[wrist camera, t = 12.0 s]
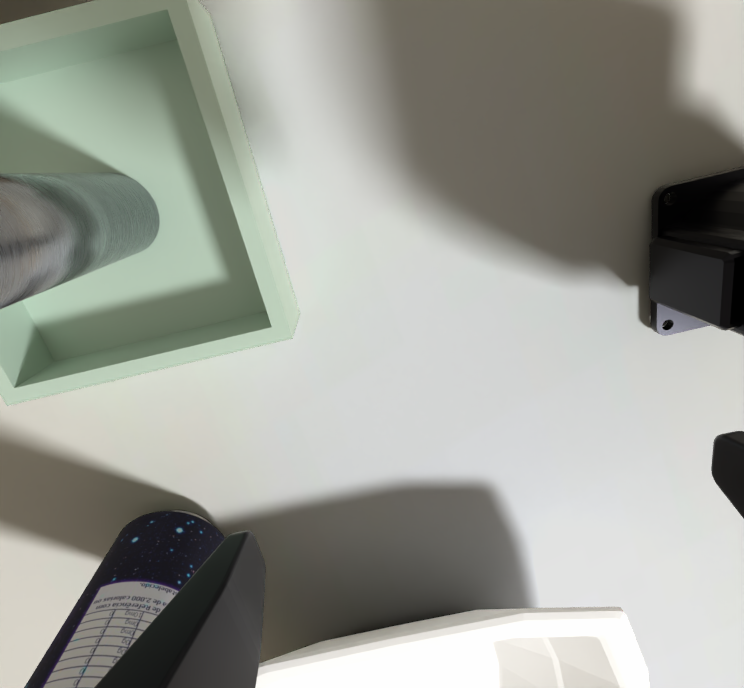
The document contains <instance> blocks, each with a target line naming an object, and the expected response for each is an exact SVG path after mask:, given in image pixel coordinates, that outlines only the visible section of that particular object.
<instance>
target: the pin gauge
mask: <svg viewBox="0 0 744 688" xmlns="http://www.w3.org/2000/svg"><path fill="white" fill-rule="evenodd" d="M159 224H160V219H159V212H158V209H157V205H156V203H155V201H154V199H153V198H152V196H151V195H150V193H149V192H148V191H147V190H146V189H145V188H144V187H143V186H142V185H141V184H140V183H139V182H137V181H136V180H134V179H132V178H130V177H128V176H126V175H123V174H119V173H112V172H105V173H0V309H2V308H5V307H7V306H10V305H12V304H15V303H17V302H19V301H22V300H24V299H27V298H29V297H32V296H34V295H37V294H39V293H41V292H44V291H46V290H49V289H51V288H54V287H56V286H59V285H61V284H63V283H66V282H68V281H71V280H73V279H76V278H78V277H81V276H83V275H85V274H88V273H90V272H93V271H95V270H98V269H100V268H103V267H105V266H107V265H110V264H112V263H115V262H117V261H120V260H122V259H125V258H127V257H129V256H132V255H134V254H137V253H139V252H141V251H143V250H145V249H146V248H148V247H149V246H150V245H151V244H152V243H153V241H154V240H155V238H156V236H157V234H158V231H159Z"/></svg>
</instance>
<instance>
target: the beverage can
mask: <svg viewBox="0 0 744 688" xmlns="http://www.w3.org/2000/svg"><path fill="white" fill-rule="evenodd" d="M224 540H225V538H224V536H223V535H222V534H221V533H220V531H219V530H218V529H216V528H215V527H214V526H213V525H212V524H211V523H210V522H209V521H208V520H206V519H205V518H203V517H201V516H199V515H197V514H194V513H191V512H187V511H180V510H173V511H163V512H155V513H150V514H146V515H143V516H141V517H139V518H137V519H135V520H133V521H132V522H130V523H129V524H128V525H126V526H125V527H124V528H123V530H122V531H121V532H120V534H119V535H118V537H117V539H116V540H115V542H114V543H113V545H112V547H111V548H110V550H109V552H108V553H107V555H106V556H105V558H104V560H103V561H102V563H101V564H100V566H99V568H98V569H97V571H96V573H95V574H94V576H93V577H92V579H91V581H90V582H89V584H88V586H87V587H86V589H85V590H84V592H83V594H82V595H81V597H80V598H79V600H78V602H77V603H76V605H75V607H74V608H73V610H72V611H71V613H70V615H69V616H68V618H67V619H66V621H65V623H64V624H63V626H62V628H61V629H60V631H59V632H58V634H57V636H56V637H55V639H54V641H53V642H52V644H51V645H50V647H49V649H48V650H47V652H46V653H45V655H44V657H43V658H42V660H41V662H40V663H39V665H38V666H37V668H36V670H35V671H34V673H33V674H32V676H31V678H30V679H29V681H28V683H27V684H26V686H25V687H24V688H94V687H95V686H96V685H97V684H98V682H99V681H100V680H101V679H102V678H103V677H104V676H105V675H106V673H107V672H108V671H109V670H110V669H111V668H112V667H113V665H114V664H115V663H116V662H117V661H118V660H119V659H120V658H121V656H122V655H123V654H124V653H125V652H126V651H127V650H128V648H129V647H130V646H131V645H132V644H133V643H134V642H135V641H136V639H137V638H138V637H139V636H140V635H141V634H142V633H143V631H144V630H145V629H146V628H147V627H148V626H149V625H150V624H151V622H152V621H153V620H154V619H155V618H156V617H157V616H158V614H159V613H160V612H161V611H162V610H163V609H164V608H165V607H166V605H167V604H168V603H169V602H170V601H171V600H172V599H173V597H174V596H175V595H176V594H177V593H178V592H179V591H180V590H181V588H182V587H183V586H184V585H185V584H186V583H187V582H188V580H189V579H190V578H191V577H192V576H193V575H194V574H195V573H196V571H197V570H198V569H199V568H200V567H201V566H202V565H203V563H204V562H205V561H206V560H207V559H208V558H209V557H210V556H211V554H212V553H213V552H214V551H215V550H216V549H217V548H218V546H219V545H220V544H221V543H222V542H223V541H224Z"/></svg>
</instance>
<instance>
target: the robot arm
mask: <svg viewBox="0 0 744 688" xmlns="http://www.w3.org/2000/svg"><path fill="white" fill-rule="evenodd" d="M668 193H669V194H670V199H669V201H668V202H667V203H666V204H665V202H664V199H665V196H666V195H667V194H668ZM649 297H650V299H651V327H652V329H653V330H654V331H655V332H657V333H659V334H661V335H671V334H675V333H679V332H684V331H688V330H692V329H697V328H701V327H705V326H710V325H711V326H714V327H716V328H719V329H721V330H731V331H733V332H736V333H738V334H741V335H743V336H744V167H740V168H736V169H731V170H727V171H723V172H719V173H715V174H711V175H706V176H702V177H698V178H694V179H690V180H686V181H681V182H677V183H673V184H669V185H665V186H662V187H660V188H659V189H657V190H656V191H655V193H654V195H653V198H652V241H651V243H650V286H649ZM666 320H667V324H666V325H665V326H664V327H662V325H663V323H664V322H665V321H666ZM711 471H712V476H713V478H714V480H715V482H716V484H717V485H718V486H719V488H720V489H721V490H722V491H723V493H724V494H725V495H726V497H727V498H728V499H729V500H730V502H731V503H732V504H733V505H734V507H735V508H736V509H737V511H738V512H739V513H740V514H741V516H742V517H743V518H744V432H743V431H735V432H730V433H725V434H720V435H718V436H717V437H716V438H715V440H714V445H713V456H712V468H711ZM265 576H266V568H265V562H264V559H263V556H262V554H261V551H260V549H259V546H258V544H257V541H256V539H255V536H254V534H253V533H252V532H251V531H248V530H246V531H241V532H236V533H232V534H230V535H229V536H227V537H226V539H225V540H224V541H223V542H222V543H221V544H220V545H219V546H218V548H217V549H216V550H215V551H214V552H213V553H212V554H211V556H210V557H209V558H208V559H207V560H206V561H205V562H204V563H203V565H202V566H201V567H200V568H199V569H198V570H197V571H196V573H195V574H194V575H193V576H192V577H191V578H190V579H189V580H188V582H187V583H186V584H185V585H184V586H183V587H182V588H181V590H180V591H179V592H178V593H177V594H176V595H175V596H174V597H173V599H172V600H171V601H170V602H169V603H168V604H167V605H166V607H165V608H164V609H163V610H162V611H161V612H160V613H159V614H158V616H157V617H156V618H155V619H154V620H153V621H152V622H151V624H150V625H149V626H148V627H147V628H146V629H145V630H144V631H143V633H142V634H141V635H140V636H139V637H138V638H137V639H136V641H135V642H134V643H133V644H132V645H131V646H130V647H129V648H128V650H127V651H126V652H125V653H124V654H123V655H122V656H121V658H120V659H119V660H118V661H117V662H116V663H115V664H114V665H113V667H112V668H111V669H110V670H109V671H108V672H107V673H106V675H105V676H104V677H103V678H102V679H101V680H100V681H99V682H98V684H97V685H96V686H95V687H94V688H255V687H256V681H257V675H258V668H259V661H260V652H261V640H262V624H263V608H264V592H265Z"/></svg>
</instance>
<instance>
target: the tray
mask: <svg viewBox="0 0 744 688" xmlns="http://www.w3.org/2000/svg"><path fill="white" fill-rule="evenodd" d="M105 172H112V173H119V174H123V175H126V176H128V177H130V178H132V179H134V180H136V181H137V182H139V183H140V184H141V185H142V186H143V187H144V188H145V189H146V190H147V191H148V192H149V193H150V195H151V196H152V198H153V199H154V201H155V203H156V205H157V209H158V212H159V219H160V224H159V231H158V234H157V236H156V238H155V240H154V241H153V243H152V244H151V245H150V246H149V247H148V248H146V249H145V250H143V251H141V252H139V253H137V254H134V255H132V256H129V257H127V258H125V259H122V260H120V261H117V262H115V263H112V264H110V265H107V266H105V267H103V268H100V269H98V270H95V271H93V272H90V273H88V274H85V275H83V276H81V277H78V278H76V279H73V280H71V281H68V282H66V283H63V284H61V285H59V286H56V287H54V288H51V289H49V290H46V291H44V292H41V293H39V294H37V295H34V296H32V297H29V298H27V299H24V300H22V301H19V302H17V303H15V304H12V305H10V306H7V307H5V308H2V309H0V395H1V397H2V399H3V400H4V402H5V403H6V405H7V406H9V405H13V404H17V403H21V402H26V401H30V400H34V399H38V398H43V397H47V396H51V395H55V394H60V393H64V392H68V391H72V390H77V389H81V388H85V387H89V386H93V385H98V384H102V383H106V382H110V381H115V380H119V379H123V378H127V377H132V376H136V375H140V374H144V373H149V372H153V371H157V370H161V369H165V368H170V367H174V366H178V365H182V364H187V363H191V362H195V361H199V360H204V359H208V358H212V357H216V356H221V355H225V354H229V353H233V352H237V351H242V350H246V349H250V348H254V347H259V346H263V345H267V344H271V343H276V342H280V341H284V340H288V339H293V336H294V332H295V329H296V326H297V322H298V319H299V316H300V311H299V308H298V305H297V302H296V298H295V295H294V292H293V288H292V285H291V282H290V278H289V275H288V272H287V268H286V265H285V262H284V258H283V255H282V252H281V248H280V245H279V242H278V238H277V235H276V232H275V228H274V225H273V222H272V218H271V215H270V212H269V208H268V205H267V202H266V198H265V195H264V192H263V188H262V185H261V182H260V178H259V175H258V172H257V168H256V165H255V162H254V158H253V155H252V152H251V148H250V145H249V142H248V139H247V135H246V132H245V129H244V125H243V122H242V119H241V115H240V112H239V109H238V105H237V102H236V99H235V95H234V92H233V89H232V85H231V82H230V79H229V75H228V72H227V69H226V65H225V62H224V59H223V55H222V52H221V49H220V45H219V42H218V39H217V35H216V32H215V29H214V25H213V22H212V19H211V15H210V14H209V13H208V12H207V11H206V9H205V8H204V7H203V6H202V5H201V3H200V2H199V1H198V0H94V1H90V2H86V3H82V4H78V5H74V6H70V7H66V8H63V9H59V10H55V11H51V12H47V13H43V14H39V15H35V16H31V17H27V18H24V19H20V20H16V21H12V22H8V23H4V24H0V173H105Z"/></svg>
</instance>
